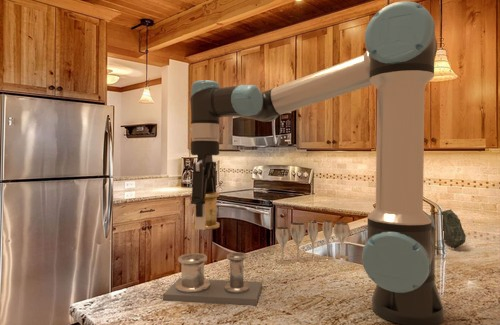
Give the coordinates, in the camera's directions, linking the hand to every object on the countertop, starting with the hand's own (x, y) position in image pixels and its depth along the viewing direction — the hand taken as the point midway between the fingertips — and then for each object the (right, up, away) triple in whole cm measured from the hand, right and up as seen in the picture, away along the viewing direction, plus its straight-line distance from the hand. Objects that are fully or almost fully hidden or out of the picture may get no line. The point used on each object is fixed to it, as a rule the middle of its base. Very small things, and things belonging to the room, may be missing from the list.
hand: (204, 225), depth 94 cm
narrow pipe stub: (+9, -16, -1) cm, 19 cm away
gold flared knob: (0, 0, 0) cm, 0 cm away
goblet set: (+35, -18, +30) cm, 49 cm away
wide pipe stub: (-3, -16, 0) cm, 17 cm away
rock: (+92, -17, +47) cm, 105 cm away
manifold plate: (+3, -18, 0) cm, 18 cm away
